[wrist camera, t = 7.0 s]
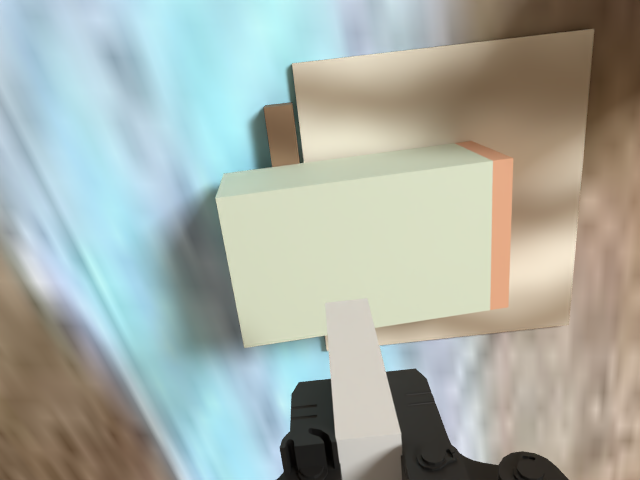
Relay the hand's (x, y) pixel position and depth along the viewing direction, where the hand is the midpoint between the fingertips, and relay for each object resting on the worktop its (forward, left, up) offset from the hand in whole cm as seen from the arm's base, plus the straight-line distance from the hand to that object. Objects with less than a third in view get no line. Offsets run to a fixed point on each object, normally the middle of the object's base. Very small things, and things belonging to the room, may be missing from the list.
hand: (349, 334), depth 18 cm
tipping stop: (0, +6, -13) cm, 14 cm away
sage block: (0, -5, -9) cm, 10 cm away
